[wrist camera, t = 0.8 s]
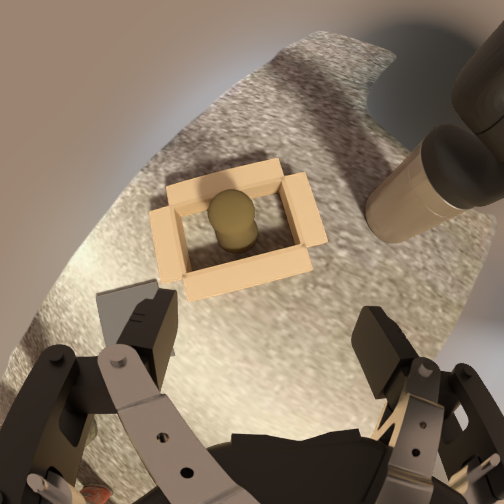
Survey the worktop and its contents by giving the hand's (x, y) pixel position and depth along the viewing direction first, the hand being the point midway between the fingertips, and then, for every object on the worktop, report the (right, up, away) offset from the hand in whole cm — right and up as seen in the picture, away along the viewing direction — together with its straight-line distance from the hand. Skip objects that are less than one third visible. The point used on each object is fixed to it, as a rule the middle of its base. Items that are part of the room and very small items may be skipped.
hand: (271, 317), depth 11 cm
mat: (-18, -8, +26) cm, 33 cm away
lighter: (-31, -44, +20) cm, 58 cm away
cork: (-3, +5, +28) cm, 29 cm away
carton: (-3, +5, +28) cm, 29 cm away
